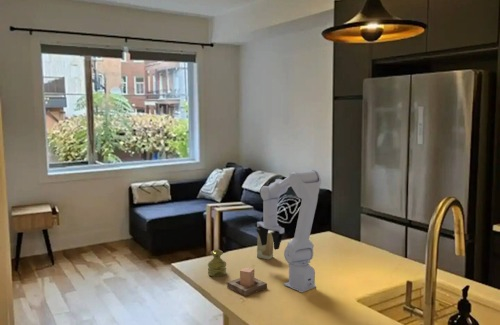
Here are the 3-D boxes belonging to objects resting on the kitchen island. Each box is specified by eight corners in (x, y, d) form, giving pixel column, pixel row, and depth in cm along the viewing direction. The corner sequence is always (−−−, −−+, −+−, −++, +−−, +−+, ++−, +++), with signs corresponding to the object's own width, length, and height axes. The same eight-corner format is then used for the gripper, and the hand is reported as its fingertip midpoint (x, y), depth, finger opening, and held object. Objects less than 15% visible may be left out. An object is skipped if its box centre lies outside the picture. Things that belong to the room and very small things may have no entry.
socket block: (267, 288, 163) (267, 283, 163) (245, 296, 157) (245, 290, 156) (248, 280, 171) (248, 275, 171) (227, 287, 165) (227, 282, 164)
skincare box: (256, 257, 197) (256, 231, 196) (260, 254, 201) (260, 228, 200) (269, 259, 195) (269, 232, 193) (273, 257, 198) (273, 230, 197)
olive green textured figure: (218, 278, 173) (217, 253, 172) (204, 274, 178) (203, 250, 177) (230, 272, 179) (229, 249, 178) (216, 269, 184) (215, 245, 183)
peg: (254, 286, 165) (254, 268, 164) (250, 290, 162) (249, 272, 161) (244, 285, 167) (244, 267, 166) (240, 288, 163) (240, 270, 162)
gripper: (289, 216, 178) (289, 248, 180) (265, 210, 189) (265, 241, 191) (277, 219, 173) (277, 252, 175) (253, 212, 184) (253, 244, 186)
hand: (270, 246), depth 183 cm, fingers open, 7 cm apart
